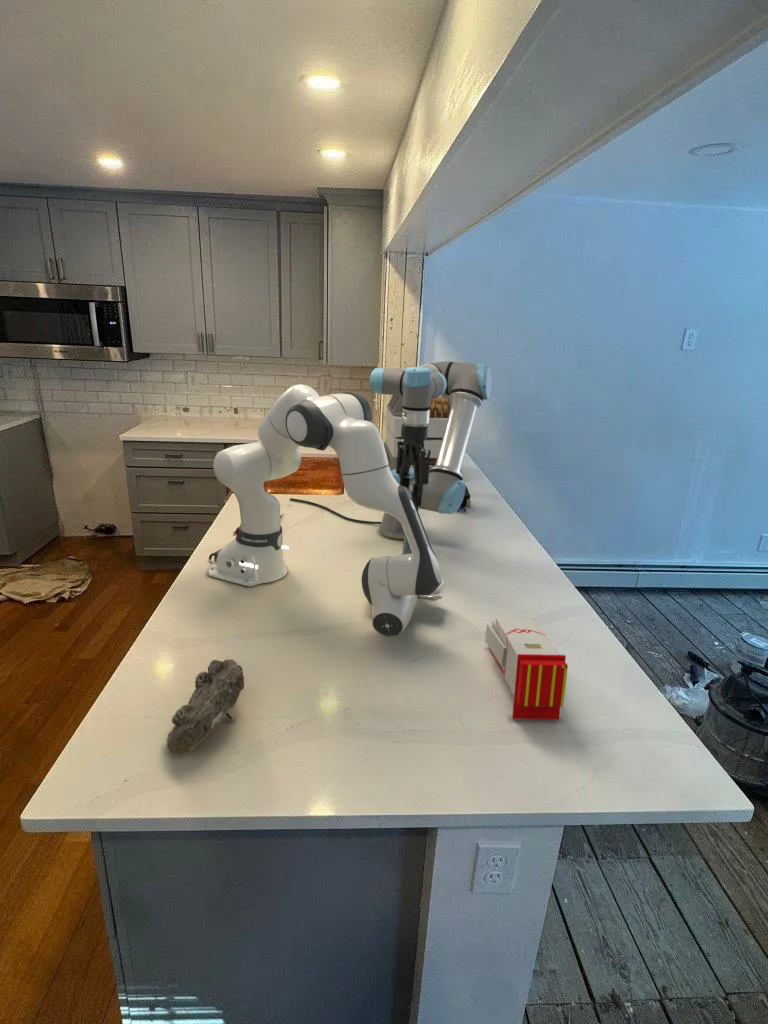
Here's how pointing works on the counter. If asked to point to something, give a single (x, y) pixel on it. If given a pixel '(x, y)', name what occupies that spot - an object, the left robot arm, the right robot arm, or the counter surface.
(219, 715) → the fossil
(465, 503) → the figurine character
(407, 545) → the jar
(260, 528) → the left robot arm
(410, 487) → the lid
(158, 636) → the counter surface
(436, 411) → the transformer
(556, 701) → the toy
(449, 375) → the right robot arm
